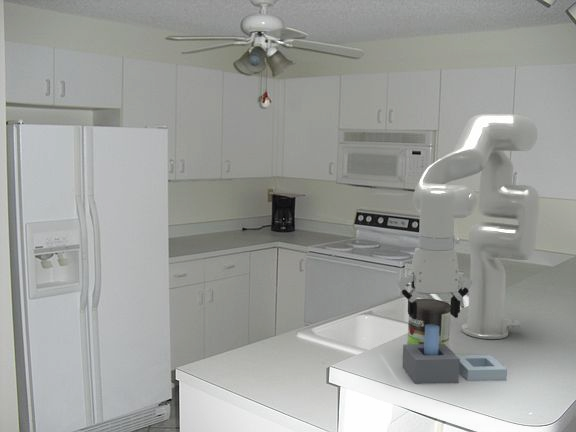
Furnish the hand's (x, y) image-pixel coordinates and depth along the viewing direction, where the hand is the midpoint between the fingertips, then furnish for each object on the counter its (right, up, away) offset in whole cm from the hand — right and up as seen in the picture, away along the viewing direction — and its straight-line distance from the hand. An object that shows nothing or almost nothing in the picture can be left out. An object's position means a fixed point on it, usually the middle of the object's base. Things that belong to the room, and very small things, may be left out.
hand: (433, 316), depth 138 cm
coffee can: (+1, -13, +13) cm, 18 cm away
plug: (-1, -14, +1) cm, 14 cm away
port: (-1, -14, +1) cm, 14 cm away
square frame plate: (+11, -14, +3) cm, 18 cm away
